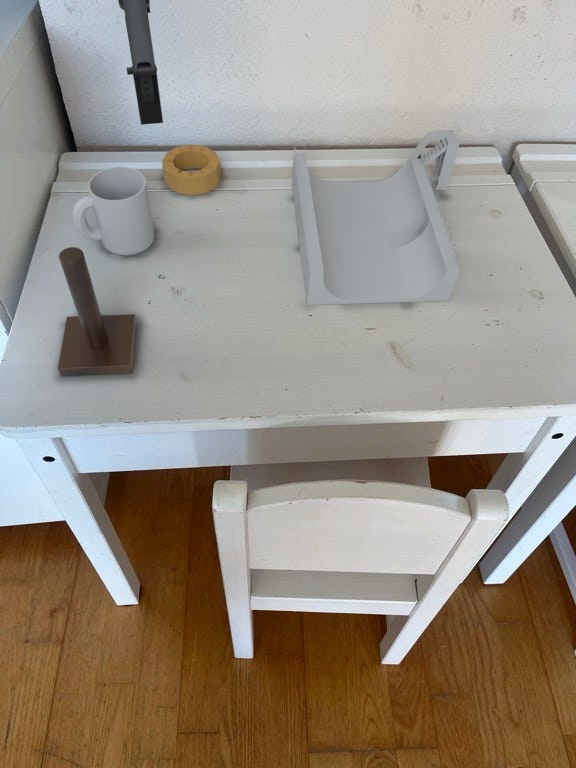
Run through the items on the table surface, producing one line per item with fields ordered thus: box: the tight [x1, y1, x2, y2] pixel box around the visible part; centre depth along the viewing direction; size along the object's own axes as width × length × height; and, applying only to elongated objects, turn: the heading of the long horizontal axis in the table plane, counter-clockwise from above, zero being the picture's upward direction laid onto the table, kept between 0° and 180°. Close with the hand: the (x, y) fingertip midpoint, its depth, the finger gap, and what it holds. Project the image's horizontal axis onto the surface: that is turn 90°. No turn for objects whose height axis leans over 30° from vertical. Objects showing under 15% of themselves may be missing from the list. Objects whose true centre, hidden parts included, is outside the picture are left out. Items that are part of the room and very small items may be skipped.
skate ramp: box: [291, 121, 463, 306], centre depth 85 cm, size 25×23×10 cm
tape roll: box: [161, 144, 222, 196], centre depth 94 cm, size 8×8×3 cm
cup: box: [72, 166, 156, 257], centre depth 83 cm, size 7×10×9 cm
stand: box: [57, 246, 137, 378], centre depth 69 cm, size 8×8×14 cm
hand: (147, 94), depth 82 cm, fingers open, 13 cm apart
